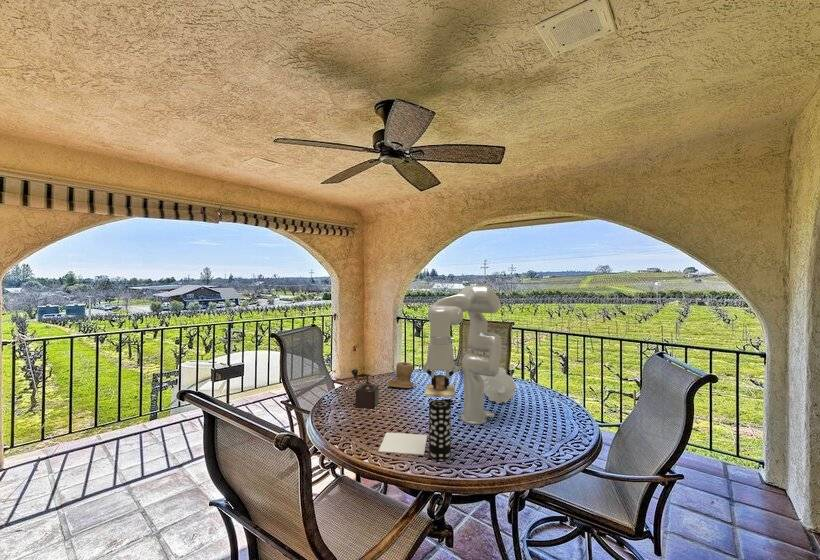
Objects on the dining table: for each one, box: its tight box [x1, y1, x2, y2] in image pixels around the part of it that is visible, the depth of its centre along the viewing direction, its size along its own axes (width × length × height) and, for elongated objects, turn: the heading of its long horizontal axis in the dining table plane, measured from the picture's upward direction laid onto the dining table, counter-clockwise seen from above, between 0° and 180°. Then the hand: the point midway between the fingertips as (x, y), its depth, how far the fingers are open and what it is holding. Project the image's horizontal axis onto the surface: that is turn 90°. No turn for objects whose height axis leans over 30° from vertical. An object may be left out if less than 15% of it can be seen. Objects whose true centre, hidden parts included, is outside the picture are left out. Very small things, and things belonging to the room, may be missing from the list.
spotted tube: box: [428, 399, 452, 462], centre depth 130 cm, size 8×8×20 cm
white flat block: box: [377, 432, 428, 456], centre depth 139 cm, size 18×16×1 cm
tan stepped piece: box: [387, 361, 414, 389], centre depth 211 cm, size 15×12×15 cm
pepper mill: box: [351, 368, 380, 410], centre depth 182 cm, size 16×11×18 cm
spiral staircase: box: [480, 366, 517, 405], centre depth 192 cm, size 18×18×25 cm
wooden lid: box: [424, 374, 456, 399], centre depth 131 cm, size 11×11×6 cm
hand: (440, 387), depth 131 cm, fingers closed on wooden lid, 4 cm apart
